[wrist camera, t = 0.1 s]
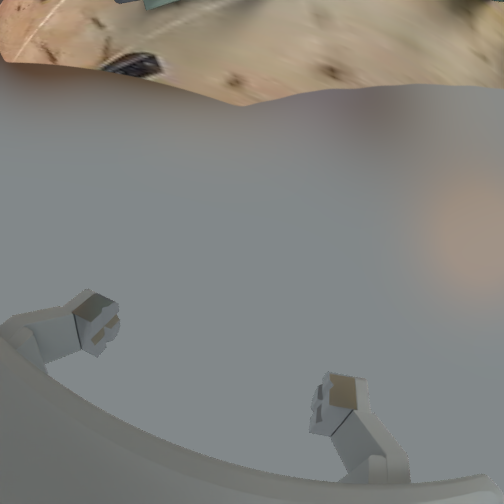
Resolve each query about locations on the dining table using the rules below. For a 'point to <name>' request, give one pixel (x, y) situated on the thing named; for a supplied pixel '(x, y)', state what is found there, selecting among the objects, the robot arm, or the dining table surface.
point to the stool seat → (149, 3)
